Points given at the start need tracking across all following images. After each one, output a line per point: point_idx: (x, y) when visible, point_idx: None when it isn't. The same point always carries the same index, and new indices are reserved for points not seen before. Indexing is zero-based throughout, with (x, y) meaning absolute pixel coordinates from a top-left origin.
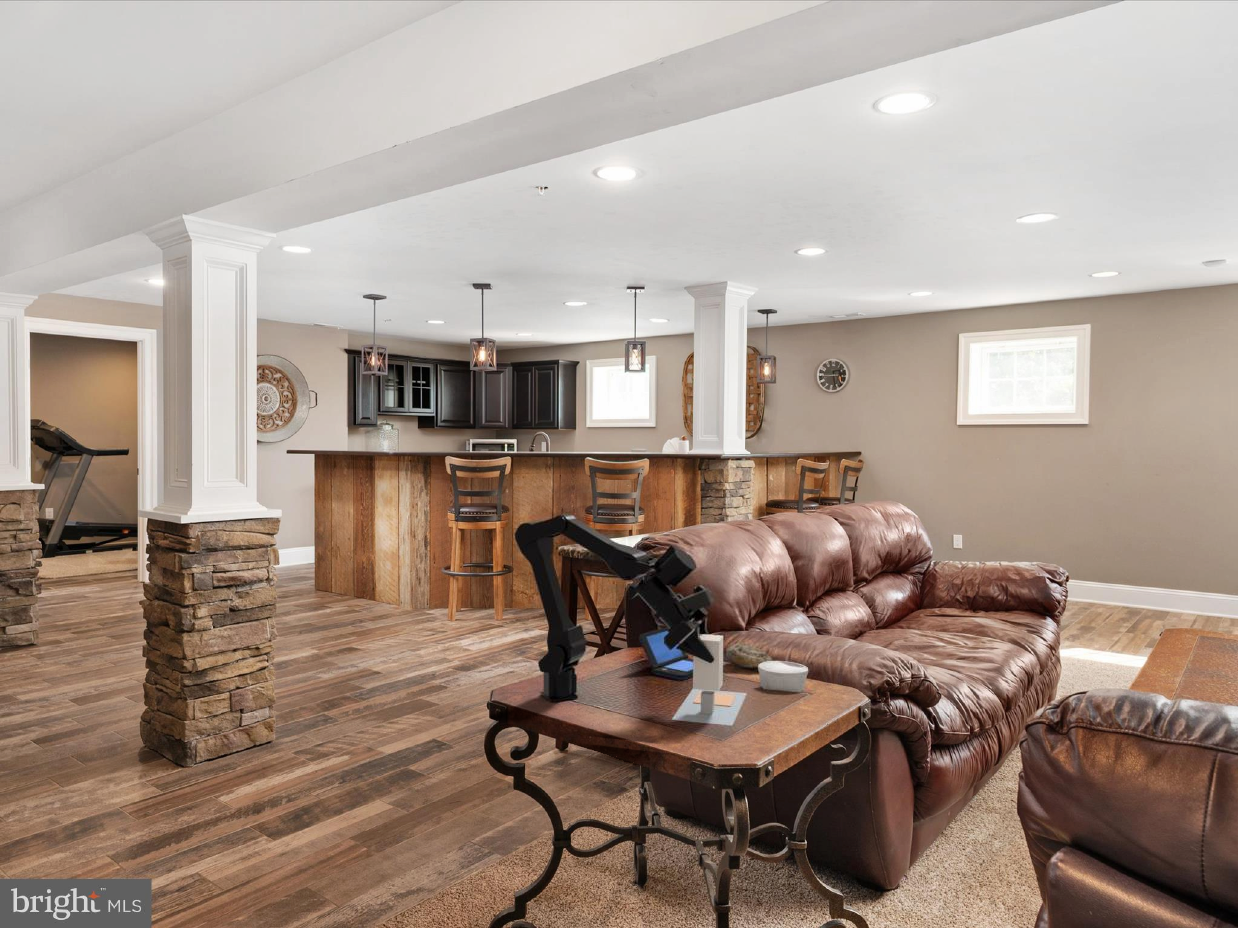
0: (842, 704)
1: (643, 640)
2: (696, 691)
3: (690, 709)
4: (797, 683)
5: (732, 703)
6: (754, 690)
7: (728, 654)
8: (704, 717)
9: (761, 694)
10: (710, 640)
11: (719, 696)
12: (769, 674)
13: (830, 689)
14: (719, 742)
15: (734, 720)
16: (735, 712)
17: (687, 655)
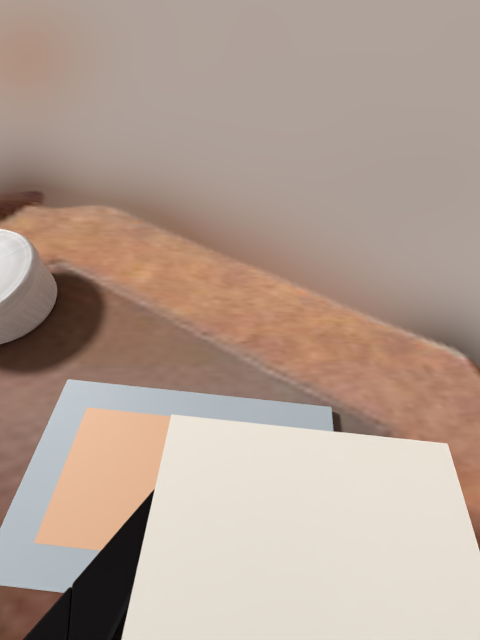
0: (126, 225)
1: None
2: (22, 559)
3: None
4: (45, 265)
5: (158, 415)
6: (6, 365)
7: None
8: None
9: (44, 349)
10: (476, 577)
11: (99, 458)
12: (7, 309)
13: (34, 232)
14: (404, 435)
15: (293, 403)
16: (232, 403)
17: None
